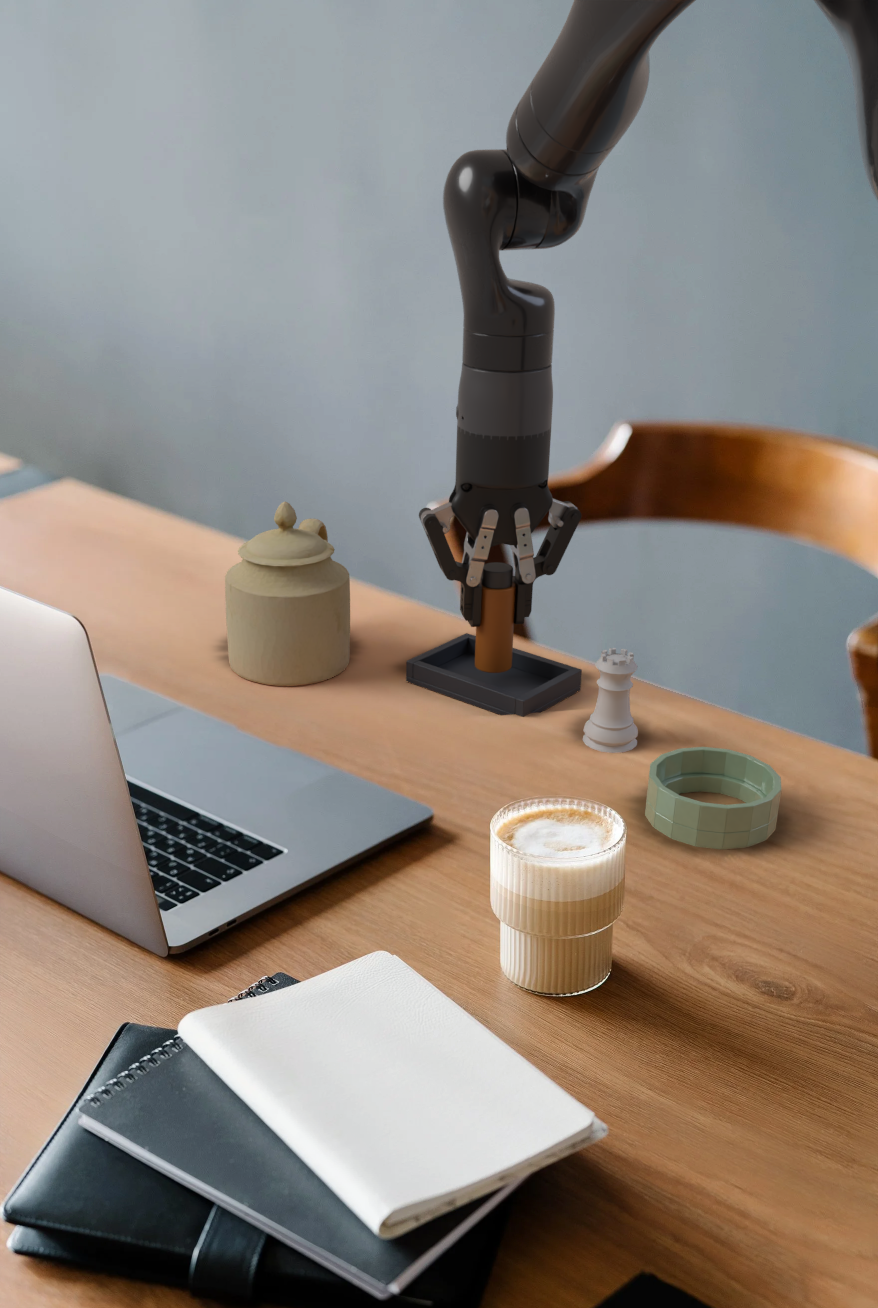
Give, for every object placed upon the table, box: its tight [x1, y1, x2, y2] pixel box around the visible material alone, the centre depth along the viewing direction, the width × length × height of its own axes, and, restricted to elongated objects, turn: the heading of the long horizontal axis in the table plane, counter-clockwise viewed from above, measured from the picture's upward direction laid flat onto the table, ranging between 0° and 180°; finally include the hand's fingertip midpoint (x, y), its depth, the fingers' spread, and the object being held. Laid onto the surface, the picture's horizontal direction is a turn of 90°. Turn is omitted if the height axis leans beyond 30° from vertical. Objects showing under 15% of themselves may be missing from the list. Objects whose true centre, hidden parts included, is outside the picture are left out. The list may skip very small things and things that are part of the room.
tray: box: [405, 632, 583, 718], centre depth 121 cm, size 13×9×2 cm
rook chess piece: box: [582, 647, 639, 754], centre depth 109 cm, size 4×4×8 cm
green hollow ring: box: [644, 746, 783, 851], centre depth 98 cm, size 9×9×4 cm
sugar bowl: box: [224, 501, 351, 687], centre depth 124 cm, size 15×11×15 cm
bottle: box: [475, 561, 516, 673], centre depth 119 cm, size 3×3×9 cm
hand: (495, 621), depth 119 cm, fingers closed on bottle, 3 cm apart
